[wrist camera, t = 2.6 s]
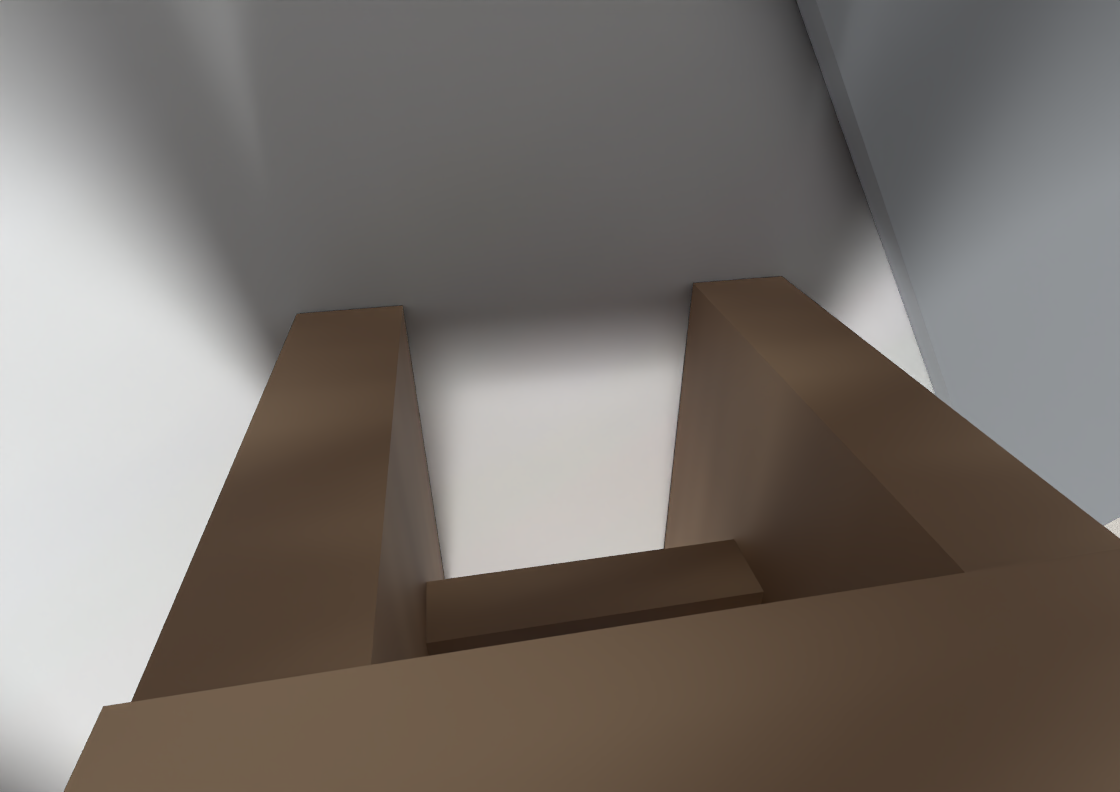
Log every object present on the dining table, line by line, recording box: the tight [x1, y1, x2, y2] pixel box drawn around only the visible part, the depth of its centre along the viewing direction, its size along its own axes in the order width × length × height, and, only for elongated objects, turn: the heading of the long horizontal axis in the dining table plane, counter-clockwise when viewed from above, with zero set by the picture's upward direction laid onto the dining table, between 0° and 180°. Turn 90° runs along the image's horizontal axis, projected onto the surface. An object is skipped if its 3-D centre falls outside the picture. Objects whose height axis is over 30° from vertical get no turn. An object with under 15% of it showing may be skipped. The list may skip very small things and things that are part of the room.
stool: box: [64, 276, 1120, 792], centre depth 7 cm, size 6×6×6 cm
